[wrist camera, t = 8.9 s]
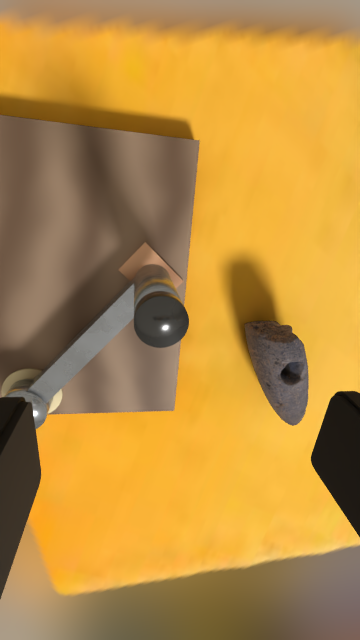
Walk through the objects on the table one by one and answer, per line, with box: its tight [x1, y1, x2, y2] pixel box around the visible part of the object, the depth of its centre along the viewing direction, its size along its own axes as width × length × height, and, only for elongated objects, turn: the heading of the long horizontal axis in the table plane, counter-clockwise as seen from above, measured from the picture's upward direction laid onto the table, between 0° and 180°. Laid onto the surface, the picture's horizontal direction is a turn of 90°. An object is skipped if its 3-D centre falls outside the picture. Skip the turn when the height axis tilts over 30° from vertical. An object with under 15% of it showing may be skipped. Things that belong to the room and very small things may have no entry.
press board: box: [0, 115, 199, 414], centre depth 28 cm, size 19×28×2 cm
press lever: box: [4, 264, 189, 429], centre depth 23 cm, size 4×22×11 cm, turn 133°
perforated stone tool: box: [245, 321, 308, 426], centre depth 32 cm, size 15×5×7 cm, turn 18°
